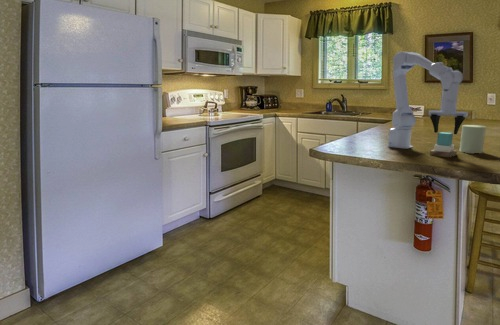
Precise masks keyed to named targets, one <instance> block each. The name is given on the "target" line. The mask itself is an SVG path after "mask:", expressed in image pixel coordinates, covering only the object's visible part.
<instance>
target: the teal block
mask: <svg viewBox="0 0 500 325" xmlns="http://www.w3.org/2000/svg"><path fill="white" fill-rule="evenodd" d="M453 137H454V132H447V131H446V132H443V131H441V132H437V139H436V144H437V145H444V146H449V145H453Z"/></svg>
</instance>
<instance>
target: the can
mask: <svg viewBox="0 0 500 325" xmlns="http://www.w3.org/2000/svg"><path fill="white" fill-rule="evenodd" d="M461 125H462V124H461ZM486 129H487V126H485V125H481V124H480V125H479V124H478V125H477V124H463V125H462V126H461V134H460V135H461V136H460V144H459V152H460V153H464V152H465V153H467V154H474V153H479V154H483V153H484V145H485V144H484V143H485V136H486V131H487V130H486ZM465 153H464V154H465Z"/></svg>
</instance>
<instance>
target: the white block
mask: <svg viewBox="0 0 500 325" xmlns="http://www.w3.org/2000/svg"><path fill="white" fill-rule="evenodd" d="M433 147H434V148H433V150H434V151H440V152H452V151H454V150H455V144H452V145H449V146H444V145H437V143H435V144H434V146H433Z"/></svg>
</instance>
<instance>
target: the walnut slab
mask: <svg viewBox="0 0 500 325" xmlns="http://www.w3.org/2000/svg"><path fill="white" fill-rule="evenodd" d="M457 154H458V151H457V150H455V149H454V151H452V152H440V151H434V149H432V150H430V151H429V156H434V157H444V158H449V157H450V158H452V156H453V157H455V156H457Z"/></svg>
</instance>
